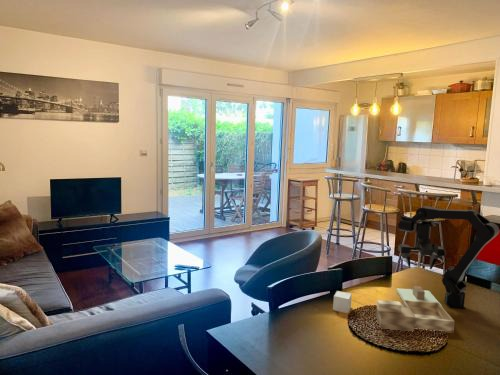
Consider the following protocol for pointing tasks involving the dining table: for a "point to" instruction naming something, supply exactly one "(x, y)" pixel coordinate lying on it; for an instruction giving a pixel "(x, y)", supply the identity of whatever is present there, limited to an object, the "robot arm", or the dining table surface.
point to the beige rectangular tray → (417, 317)
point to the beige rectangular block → (389, 306)
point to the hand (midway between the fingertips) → (419, 268)
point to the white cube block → (342, 302)
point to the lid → (416, 294)
